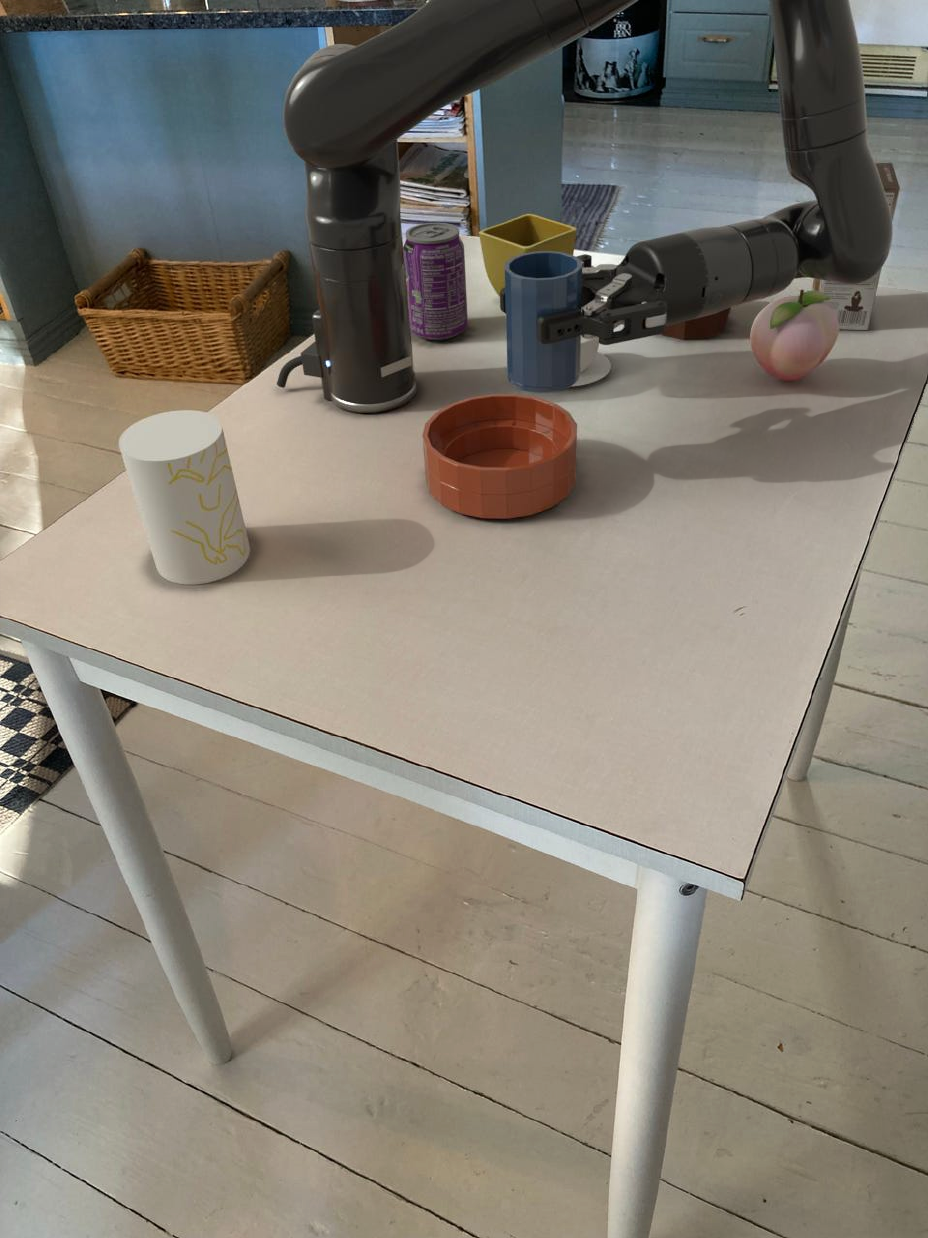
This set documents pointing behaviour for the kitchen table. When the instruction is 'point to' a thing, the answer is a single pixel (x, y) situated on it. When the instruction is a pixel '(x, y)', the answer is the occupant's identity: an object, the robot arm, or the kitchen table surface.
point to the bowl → (500, 455)
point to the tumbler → (529, 295)
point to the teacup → (591, 362)
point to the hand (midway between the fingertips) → (520, 316)
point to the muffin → (699, 327)
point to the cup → (186, 495)
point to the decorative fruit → (794, 334)
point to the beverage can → (435, 280)
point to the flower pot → (522, 243)
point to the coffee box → (859, 298)
